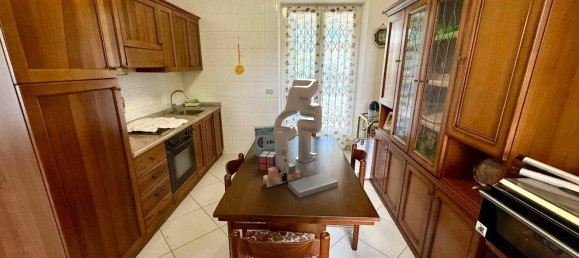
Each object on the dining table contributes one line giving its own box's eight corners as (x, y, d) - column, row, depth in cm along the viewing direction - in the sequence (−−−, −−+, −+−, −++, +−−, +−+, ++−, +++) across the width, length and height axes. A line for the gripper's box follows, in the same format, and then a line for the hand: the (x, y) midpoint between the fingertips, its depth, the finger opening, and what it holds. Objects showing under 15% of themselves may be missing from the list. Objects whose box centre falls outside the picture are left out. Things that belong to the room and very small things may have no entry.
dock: (324, 176, 148) (324, 172, 147) (337, 186, 137) (337, 181, 136) (288, 186, 137) (288, 181, 136) (299, 197, 126) (299, 192, 125)
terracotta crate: (275, 173, 141) (274, 166, 140) (278, 176, 137) (278, 169, 136) (268, 175, 139) (267, 168, 138) (271, 178, 135) (271, 171, 134)
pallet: (295, 174, 149) (295, 167, 148) (300, 178, 144) (300, 171, 143) (263, 182, 140) (263, 175, 138) (267, 187, 134) (267, 180, 133)
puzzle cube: (273, 171, 156) (273, 157, 153) (259, 170, 158) (258, 156, 155) (277, 165, 166) (277, 152, 163) (263, 163, 167) (263, 150, 165)
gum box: (279, 152, 189) (279, 124, 183) (281, 154, 184) (280, 126, 178) (255, 154, 185) (254, 126, 178) (256, 156, 180) (254, 128, 174)
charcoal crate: (292, 169, 146) (291, 162, 145) (295, 172, 142) (295, 165, 141) (285, 170, 144) (285, 164, 143) (289, 173, 140) (288, 167, 139)
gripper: (294, 155, 131) (294, 183, 136) (280, 145, 145) (281, 171, 150) (282, 157, 127) (282, 186, 133) (269, 147, 142) (270, 174, 147)
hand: (282, 178), depth 141 cm, fingers closed on pallet, 6 cm apart
